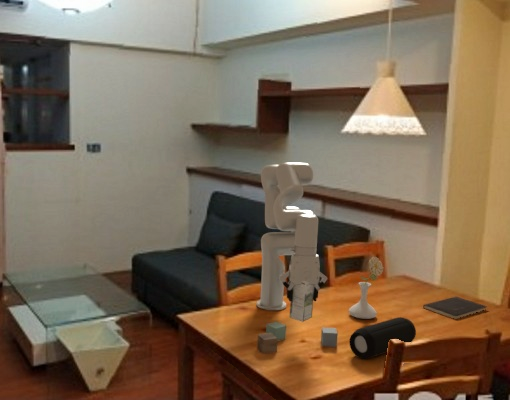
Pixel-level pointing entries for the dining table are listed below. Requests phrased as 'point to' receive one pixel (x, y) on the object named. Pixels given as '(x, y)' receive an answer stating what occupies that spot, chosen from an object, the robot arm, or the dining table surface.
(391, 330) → the portable speaker
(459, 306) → the hardcover book
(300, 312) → the syrup box
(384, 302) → the dining table surface
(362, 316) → the flower in vase
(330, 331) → the slate grey cube
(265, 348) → the walnut cube
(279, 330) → the sage green cube
